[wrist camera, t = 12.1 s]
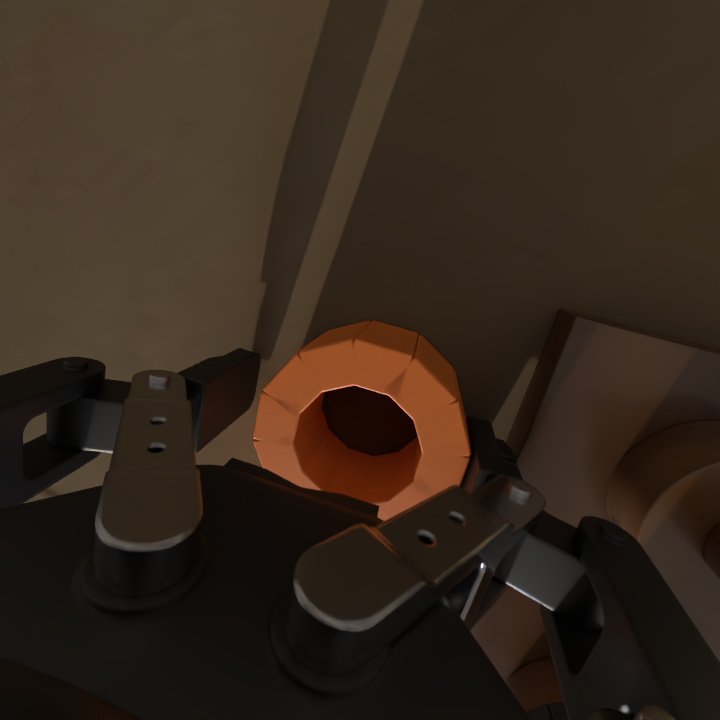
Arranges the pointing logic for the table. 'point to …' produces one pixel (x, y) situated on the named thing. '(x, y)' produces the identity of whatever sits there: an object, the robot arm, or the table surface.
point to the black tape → (549, 712)
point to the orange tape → (380, 374)
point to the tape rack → (617, 473)
